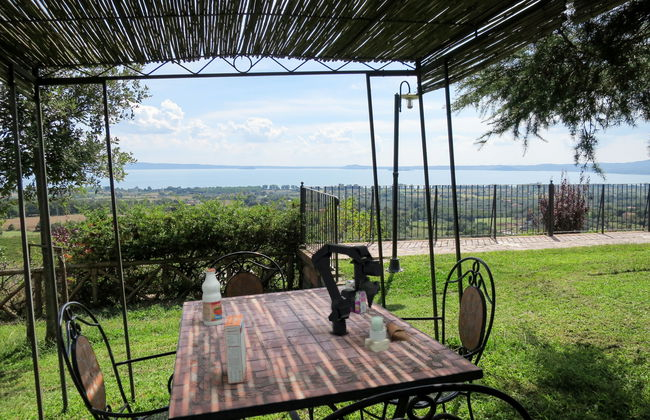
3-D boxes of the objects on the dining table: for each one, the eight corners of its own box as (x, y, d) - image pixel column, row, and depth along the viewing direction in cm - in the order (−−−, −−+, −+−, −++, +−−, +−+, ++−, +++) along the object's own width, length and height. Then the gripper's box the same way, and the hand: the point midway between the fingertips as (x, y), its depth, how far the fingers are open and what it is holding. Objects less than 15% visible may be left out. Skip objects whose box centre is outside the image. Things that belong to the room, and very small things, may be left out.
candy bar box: (367, 312, 253) (366, 281, 252) (360, 314, 250) (359, 283, 249) (352, 308, 262) (351, 279, 261) (345, 310, 259) (344, 280, 258)
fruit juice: (207, 321, 249) (204, 267, 248) (224, 320, 249) (222, 267, 247) (201, 326, 240) (198, 271, 239) (219, 326, 239) (216, 270, 238)
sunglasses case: (411, 340, 205) (402, 327, 205) (397, 349, 205) (389, 336, 205) (404, 328, 223) (396, 316, 223) (391, 336, 223) (383, 324, 223)
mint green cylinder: (368, 329, 197) (368, 318, 197) (376, 327, 201) (376, 315, 200) (377, 332, 194) (377, 320, 193) (385, 329, 197) (385, 317, 197)
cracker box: (231, 369, 181) (228, 314, 180) (247, 368, 182) (244, 313, 181) (226, 384, 167) (223, 325, 166) (244, 383, 168) (241, 324, 167)
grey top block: (369, 340, 197) (369, 330, 196) (375, 336, 201) (374, 327, 201) (380, 342, 194) (380, 332, 194) (386, 338, 198) (385, 328, 198)
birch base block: (365, 348, 199) (365, 339, 198) (378, 345, 202) (378, 335, 202) (376, 353, 193) (375, 343, 193) (389, 349, 196) (389, 339, 196)
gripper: (356, 280, 196) (357, 317, 197) (389, 273, 207) (390, 309, 208) (339, 276, 205) (340, 312, 206) (371, 270, 216) (372, 304, 217)
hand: (361, 310), depth 209 cm, fingers open, 9 cm apart
